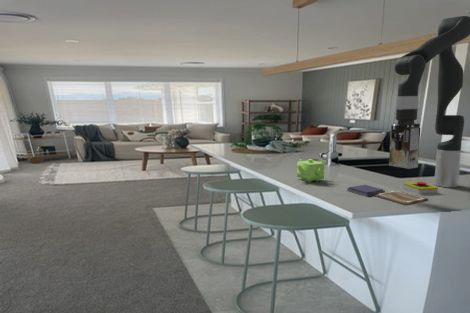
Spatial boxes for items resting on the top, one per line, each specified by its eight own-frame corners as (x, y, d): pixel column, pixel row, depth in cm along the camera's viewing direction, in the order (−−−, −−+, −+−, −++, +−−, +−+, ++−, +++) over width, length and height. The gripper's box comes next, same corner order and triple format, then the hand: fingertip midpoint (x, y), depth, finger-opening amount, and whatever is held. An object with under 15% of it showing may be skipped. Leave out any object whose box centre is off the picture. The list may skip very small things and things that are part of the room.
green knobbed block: (298, 176, 173) (298, 156, 171) (324, 178, 168) (325, 157, 167) (294, 182, 159) (294, 160, 157) (323, 184, 154) (323, 162, 153)
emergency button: (422, 186, 132) (399, 178, 146) (421, 196, 132) (398, 188, 147) (442, 185, 133) (417, 178, 148) (441, 195, 134) (416, 187, 148)
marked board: (396, 191, 138) (397, 190, 138) (427, 200, 126) (428, 198, 126) (374, 196, 133) (374, 194, 132) (404, 205, 120) (404, 203, 120)
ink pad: (364, 187, 146) (364, 184, 146) (384, 193, 137) (385, 189, 136) (347, 190, 142) (347, 187, 142) (366, 196, 132) (366, 192, 132)
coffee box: (418, 167, 125) (422, 127, 122) (408, 169, 122) (411, 128, 119) (397, 164, 133) (400, 126, 130) (387, 165, 130) (390, 126, 127)
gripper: (410, 107, 130) (407, 147, 133) (386, 108, 124) (383, 149, 126) (427, 107, 123) (424, 149, 126) (403, 108, 117) (400, 152, 120)
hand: (404, 149), depth 126 cm, fingers closed on coffee box, 6 cm apart
